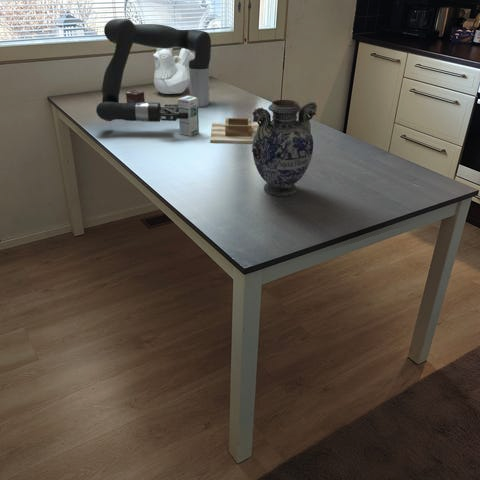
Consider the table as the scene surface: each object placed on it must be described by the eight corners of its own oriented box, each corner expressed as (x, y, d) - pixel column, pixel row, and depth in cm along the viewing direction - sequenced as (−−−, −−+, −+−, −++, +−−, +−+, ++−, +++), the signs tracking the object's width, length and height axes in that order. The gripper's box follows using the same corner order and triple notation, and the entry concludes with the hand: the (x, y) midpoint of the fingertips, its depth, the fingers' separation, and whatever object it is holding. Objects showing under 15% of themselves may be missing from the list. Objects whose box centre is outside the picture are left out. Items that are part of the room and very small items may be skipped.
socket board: (212, 125, 225) (212, 113, 223) (263, 125, 226) (264, 114, 223) (210, 142, 206) (210, 130, 204) (266, 143, 207) (267, 131, 204)
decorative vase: (262, 206, 158) (266, 114, 145) (238, 183, 173) (239, 98, 159) (324, 196, 166) (333, 107, 152) (295, 175, 181) (301, 92, 167)
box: (145, 107, 246) (144, 91, 243) (136, 110, 242) (135, 94, 238) (135, 105, 249) (134, 89, 245) (126, 108, 245) (125, 92, 241)
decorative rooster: (159, 99, 259) (156, 46, 246) (149, 91, 271) (146, 40, 259) (206, 94, 269) (206, 42, 256) (194, 87, 281) (193, 37, 269)
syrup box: (190, 136, 212) (189, 100, 205) (179, 133, 215) (177, 98, 208) (199, 132, 216) (198, 97, 209) (187, 130, 219) (186, 95, 212)
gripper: (145, 107, 203) (187, 108, 203) (150, 97, 215) (189, 98, 216) (146, 126, 207) (187, 127, 207) (151, 116, 219) (190, 116, 219)
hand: (188, 112), depth 211 cm, fingers open, 8 cm apart
